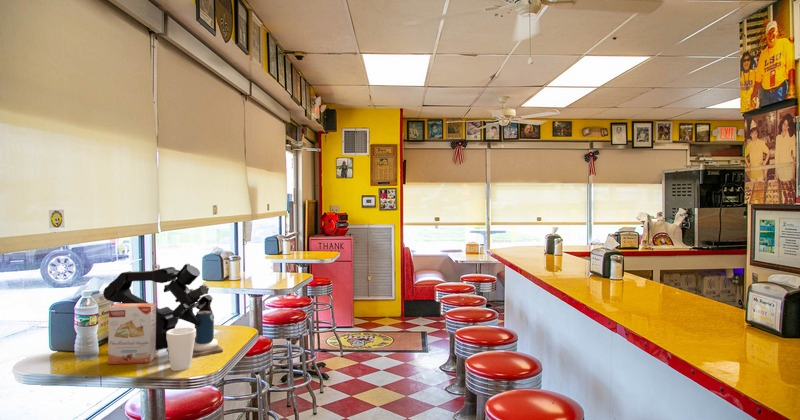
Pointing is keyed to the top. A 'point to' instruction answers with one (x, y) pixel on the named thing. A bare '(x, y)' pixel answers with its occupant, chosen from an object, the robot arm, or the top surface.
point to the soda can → (204, 327)
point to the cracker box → (132, 333)
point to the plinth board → (196, 353)
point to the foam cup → (180, 347)
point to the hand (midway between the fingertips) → (206, 321)
